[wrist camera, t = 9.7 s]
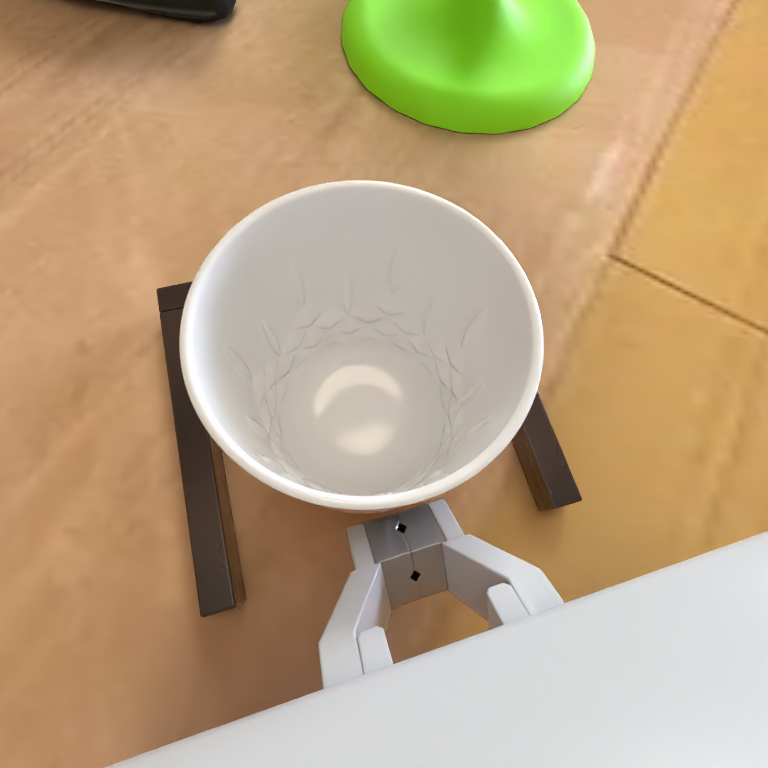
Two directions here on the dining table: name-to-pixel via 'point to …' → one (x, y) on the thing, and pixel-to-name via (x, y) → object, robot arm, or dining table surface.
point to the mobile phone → (182, 8)
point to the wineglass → (471, 59)
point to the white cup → (361, 345)
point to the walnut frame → (209, 486)
